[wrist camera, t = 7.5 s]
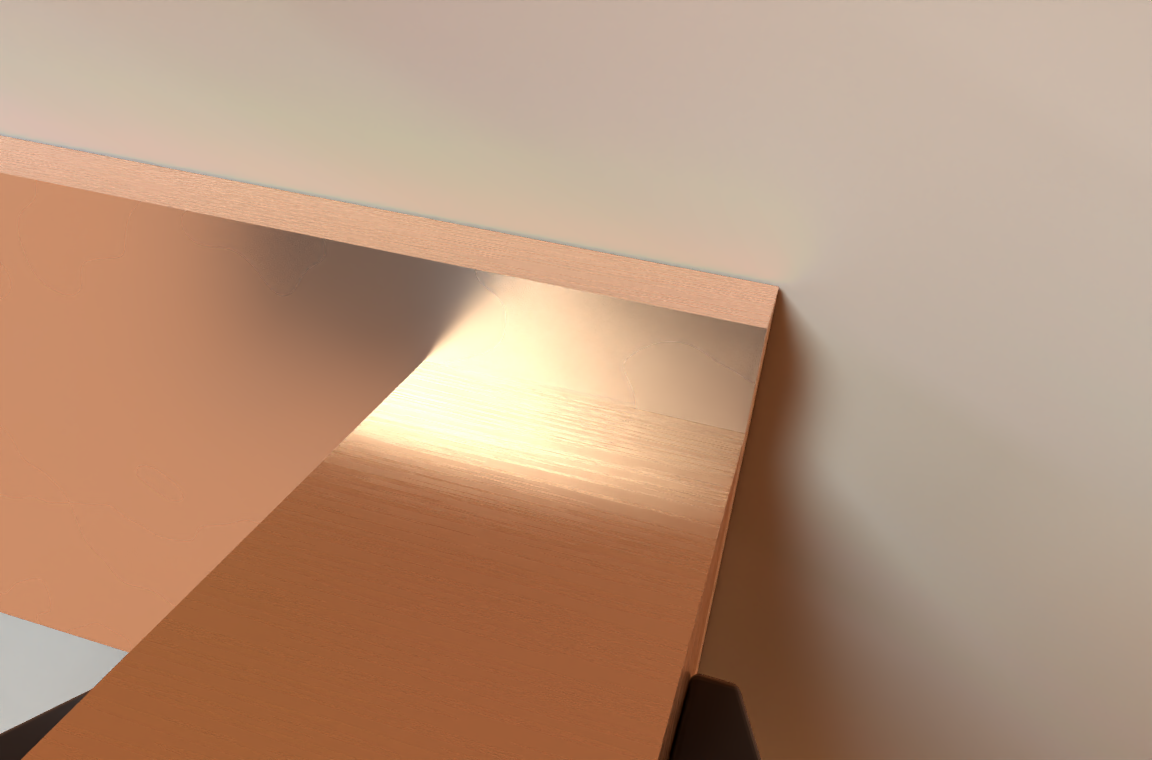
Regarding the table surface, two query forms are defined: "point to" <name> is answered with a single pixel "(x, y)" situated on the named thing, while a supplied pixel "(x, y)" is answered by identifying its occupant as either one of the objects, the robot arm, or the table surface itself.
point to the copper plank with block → (357, 470)
